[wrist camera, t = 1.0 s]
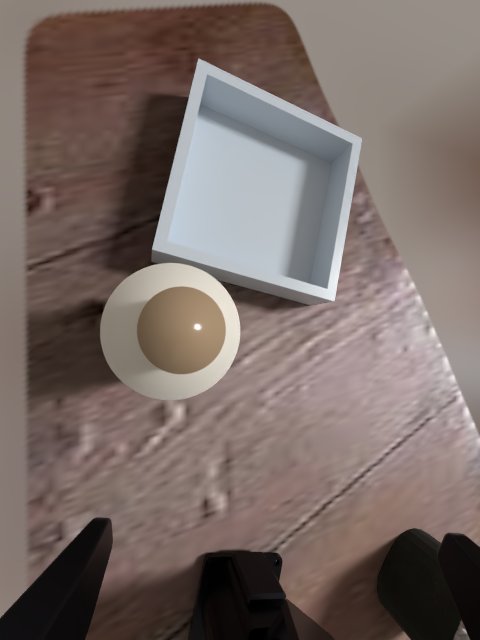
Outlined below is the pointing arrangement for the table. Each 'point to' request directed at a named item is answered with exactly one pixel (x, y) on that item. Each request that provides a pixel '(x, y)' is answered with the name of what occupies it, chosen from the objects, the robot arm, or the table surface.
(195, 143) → the bin
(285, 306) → the table surface
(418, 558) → the sushi
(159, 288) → the dressing bottle
